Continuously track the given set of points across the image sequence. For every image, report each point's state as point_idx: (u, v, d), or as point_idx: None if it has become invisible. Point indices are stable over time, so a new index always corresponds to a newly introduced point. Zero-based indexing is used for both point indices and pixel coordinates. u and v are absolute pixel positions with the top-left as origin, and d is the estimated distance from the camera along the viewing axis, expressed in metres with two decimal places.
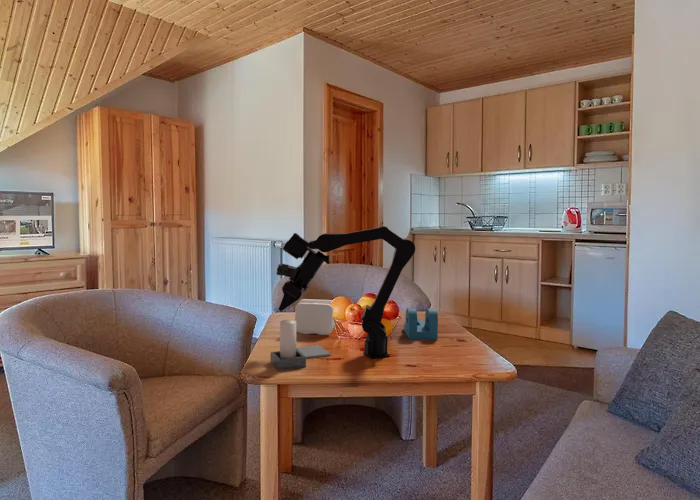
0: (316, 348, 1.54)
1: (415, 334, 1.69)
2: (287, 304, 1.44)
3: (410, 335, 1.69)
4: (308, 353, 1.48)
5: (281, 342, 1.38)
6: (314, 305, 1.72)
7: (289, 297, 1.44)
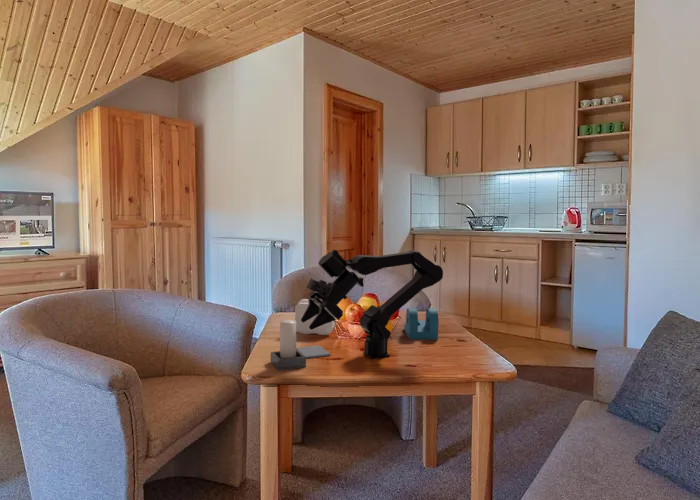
0: (316, 348, 1.54)
1: (416, 334, 1.69)
2: (320, 323, 1.36)
3: (411, 335, 1.69)
4: (308, 353, 1.48)
5: (281, 342, 1.38)
6: None
7: (324, 316, 1.36)
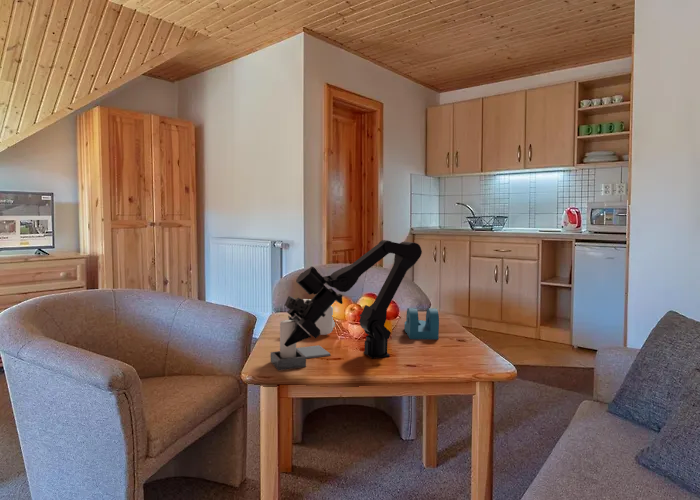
0: (316, 348, 1.54)
1: (416, 334, 1.69)
2: (295, 340, 1.36)
3: (411, 335, 1.69)
4: (308, 353, 1.48)
5: (281, 342, 1.38)
6: None
7: (300, 333, 1.36)
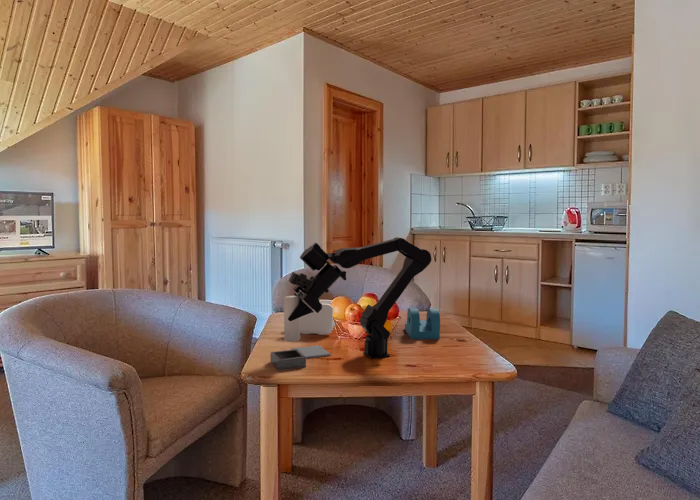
0: (316, 348, 1.54)
1: (417, 334, 1.69)
2: (298, 315, 1.38)
3: (412, 335, 1.69)
4: (308, 353, 1.48)
5: (285, 317, 1.40)
6: None
7: (303, 308, 1.38)
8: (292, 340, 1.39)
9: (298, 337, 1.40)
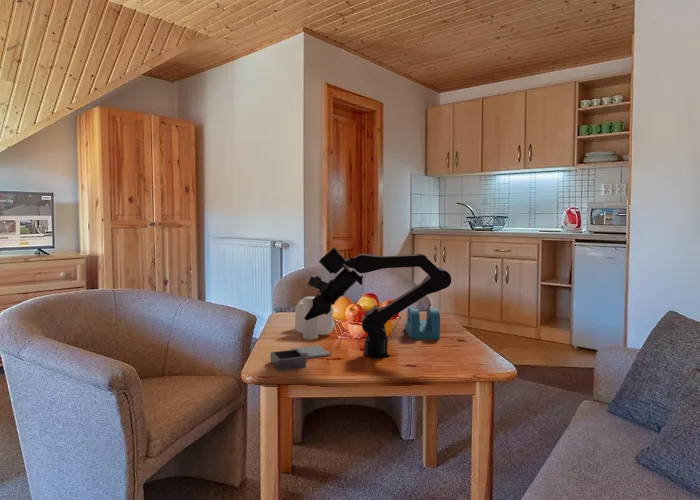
0: (316, 348, 1.54)
1: (417, 334, 1.69)
2: (313, 315, 1.46)
3: (412, 335, 1.69)
4: (308, 353, 1.48)
5: (303, 316, 1.49)
6: None
7: (317, 309, 1.46)
8: (308, 338, 1.48)
9: (315, 336, 1.49)
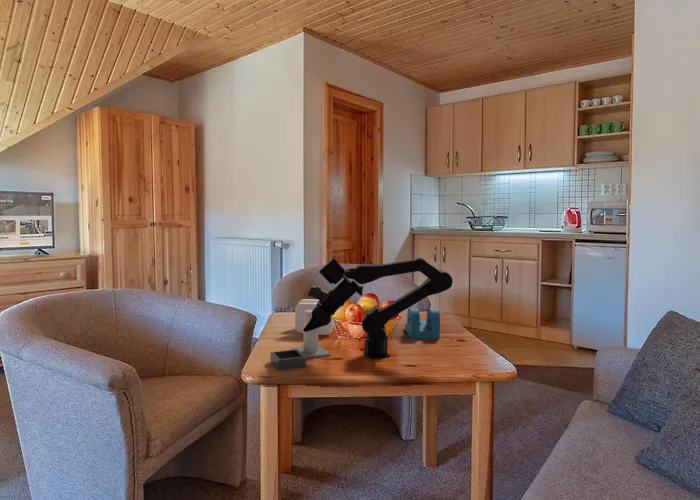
0: None
1: (417, 334, 1.69)
2: (312, 327, 1.45)
3: (412, 335, 1.69)
4: (308, 353, 1.48)
5: None
6: (314, 305, 1.72)
7: (316, 321, 1.44)
8: (308, 352, 1.49)
9: (314, 349, 1.49)
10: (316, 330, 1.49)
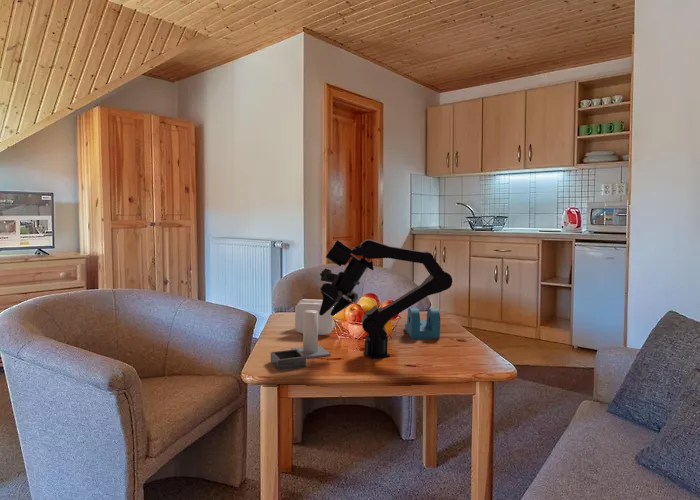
0: None
1: (418, 334, 1.70)
2: (326, 308, 1.43)
3: (413, 335, 1.70)
4: (308, 353, 1.48)
5: (303, 330, 1.50)
6: (314, 305, 1.72)
7: (328, 300, 1.43)
8: (308, 352, 1.49)
9: (314, 350, 1.49)
10: (315, 330, 1.49)
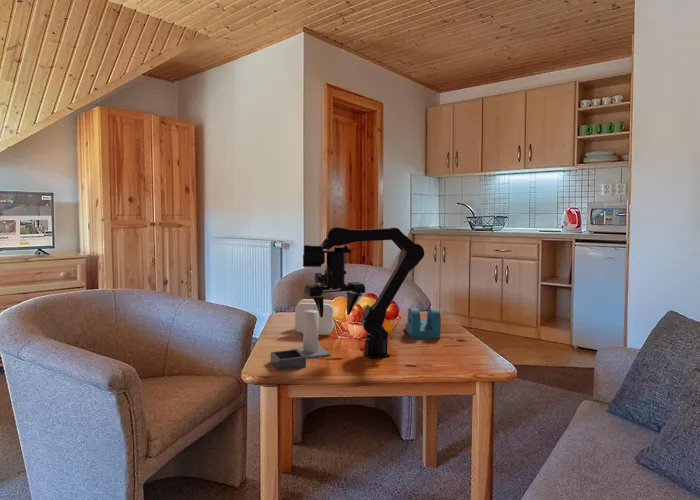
0: None
1: (418, 334, 1.70)
2: (319, 308, 1.44)
3: (413, 335, 1.70)
4: (308, 353, 1.48)
5: (303, 329, 1.50)
6: (314, 305, 1.72)
7: (318, 300, 1.44)
8: (308, 352, 1.49)
9: (314, 349, 1.49)
10: (316, 330, 1.49)
